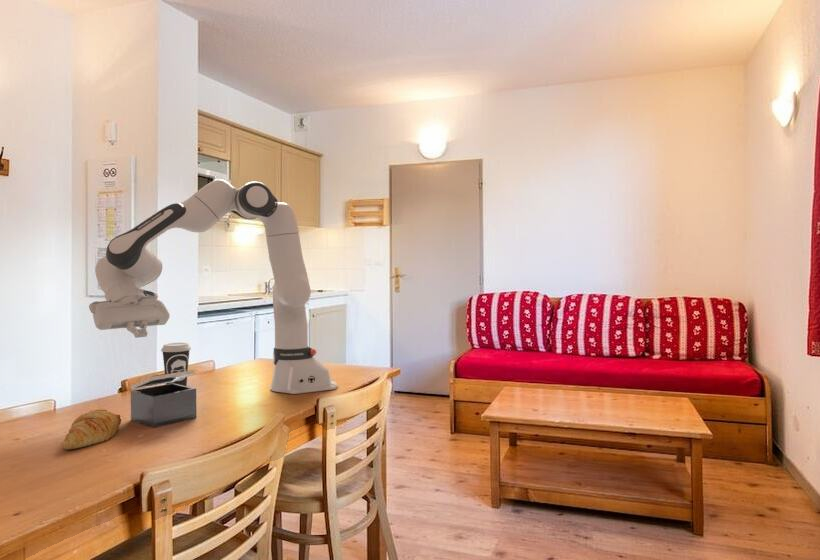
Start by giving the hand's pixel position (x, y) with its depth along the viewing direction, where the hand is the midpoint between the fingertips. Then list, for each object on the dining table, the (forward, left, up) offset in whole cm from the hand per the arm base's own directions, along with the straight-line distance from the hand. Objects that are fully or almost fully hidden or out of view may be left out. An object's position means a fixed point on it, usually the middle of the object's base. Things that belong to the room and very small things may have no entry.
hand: (141, 335), depth 151 cm
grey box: (-7, +9, -22) cm, 25 cm away
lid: (-6, +9, -12) cm, 16 cm away
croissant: (+8, +22, -22) cm, 33 cm away
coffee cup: (-6, -34, -22) cm, 41 cm away
